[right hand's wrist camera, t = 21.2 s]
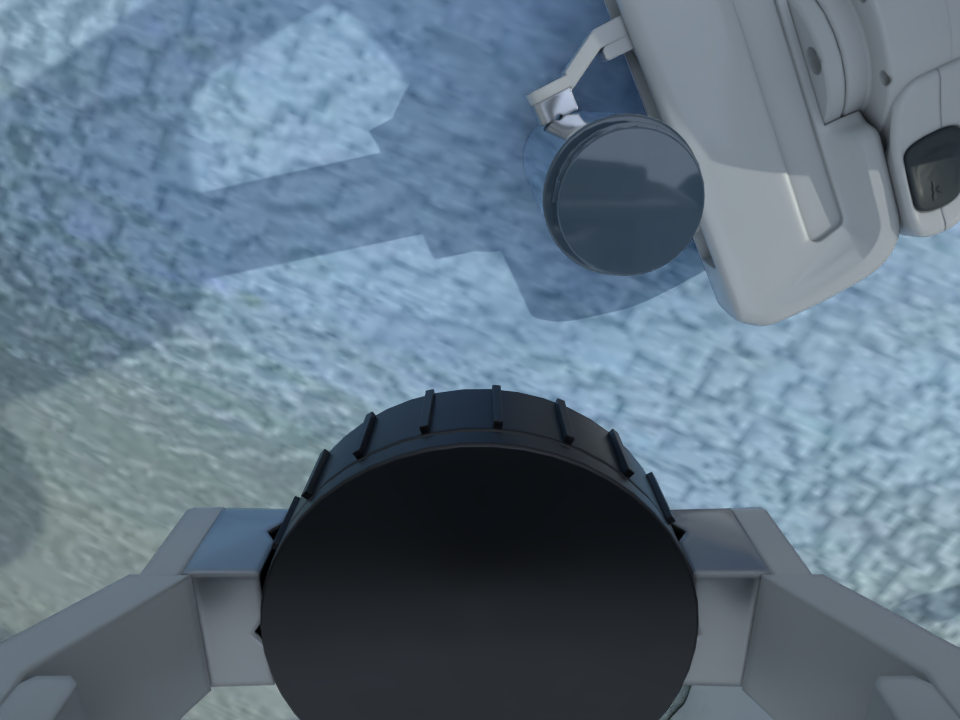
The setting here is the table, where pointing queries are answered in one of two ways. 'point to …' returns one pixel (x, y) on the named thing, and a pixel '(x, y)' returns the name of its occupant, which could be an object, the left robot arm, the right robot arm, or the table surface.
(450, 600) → the lid
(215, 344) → the table surface
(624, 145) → the jar
